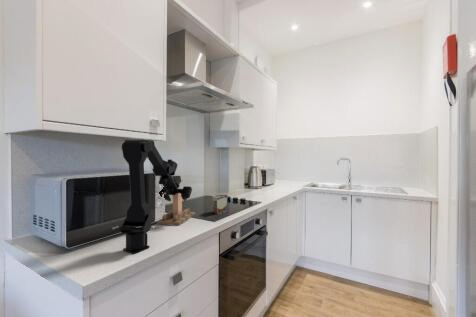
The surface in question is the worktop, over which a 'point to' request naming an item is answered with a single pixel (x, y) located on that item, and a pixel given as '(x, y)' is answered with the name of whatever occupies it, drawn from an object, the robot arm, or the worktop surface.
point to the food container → (220, 203)
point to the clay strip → (177, 204)
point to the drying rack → (176, 217)
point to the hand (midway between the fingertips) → (178, 201)
